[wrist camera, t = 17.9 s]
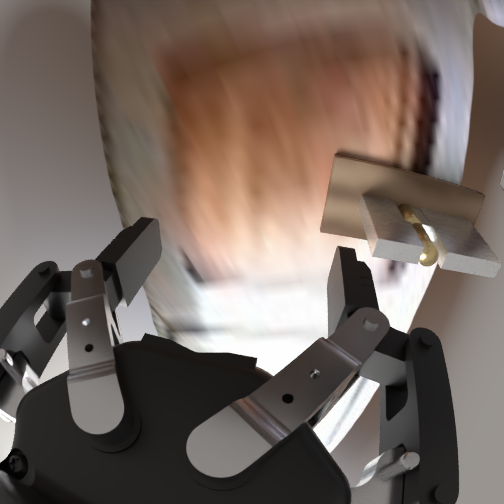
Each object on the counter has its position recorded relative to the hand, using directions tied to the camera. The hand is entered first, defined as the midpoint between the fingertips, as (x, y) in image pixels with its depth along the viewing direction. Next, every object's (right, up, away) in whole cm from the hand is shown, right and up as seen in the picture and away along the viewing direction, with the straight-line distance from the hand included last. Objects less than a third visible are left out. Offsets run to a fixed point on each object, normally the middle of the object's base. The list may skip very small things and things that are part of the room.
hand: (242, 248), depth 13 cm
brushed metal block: (+20, +6, +27) cm, 34 cm away
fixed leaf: (+28, +5, +26) cm, 39 cm away
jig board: (+24, +6, +28) cm, 37 cm away
